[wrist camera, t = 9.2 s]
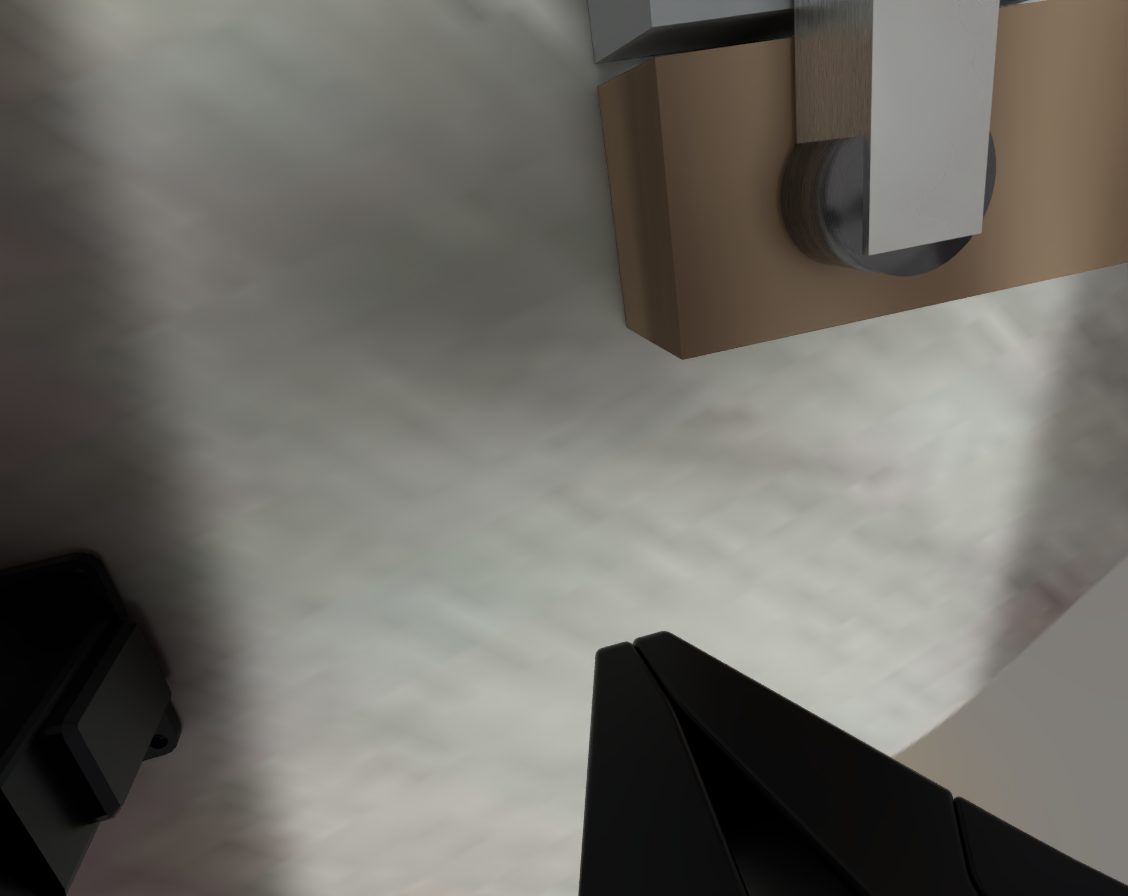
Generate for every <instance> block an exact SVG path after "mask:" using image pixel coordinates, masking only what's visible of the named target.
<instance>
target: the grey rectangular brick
mask: <svg viewBox="0 0 1128 896" xmlns="http://www.w3.org/2000/svg"><path fill="white" fill-rule="evenodd" d="M1024 1H1027V0H1000V2H999V5H1005V4H1012V3H1019V2H1024ZM588 9H589V17H590V25H591V34H592V42H593V50H594V59H595V64H596V63H602V62H609V61H616V60H623V59H630V58H637V57H644V56H651V55H658V54H665V53H672V52H679V51H686V50H693V49H700V48H707V47H714V46H721V45H727V44H734V43H741V42H748V41H755V40H762V39H769V38H776V37H783V36H790V35H795V32H794V0H588Z"/></svg>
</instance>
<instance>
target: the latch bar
mask: <svg viewBox="0 0 1128 896" xmlns="http://www.w3.org/2000/svg"><path fill="white" fill-rule="evenodd" d="M999 2H1000V0H794V32H795V84H796V135H797V144H796V145H795V147H794V149H793V151H792V153H791V155H790V157H789V159H788V162H787V164H786V167H785V170H784V174H783V178H782V184H781V197H780V202H781V212H782V217H783V221H784V224H785V227H786V230H787V232H788V234H789V236H790V238H791V239H792V241H793V242H794V244H795V245H796V246H797V247H798V249H799V250H800V251H801V252H802V253H804V254H805V255H806V256H808V257H809V258H811V259H813V260H815V261H817V262H820V263H822V264H827V265H833V266H839V267H845V268H851V269H857V270H863V271H869V272H875V273H881V274H887V275H893V276H903V277H908V276H916V275H920V274H924V273H927V272H929V271H932V270H934V269H936V268H938V267H940V266H941V265H943V264H945V263H946V262H948V261H949V260H950V259H952V258H953V257H954V256H955V255H956V254H957V253H958V252H959V251H961V250H962V249H963V247H964V246H965V245H966V244H967V243H968V242H969V241H970V239H971V238H972V236H973V235H975V234H980V233H982V220H983V218H984V216H985V214H986V211H987V209H988V206H989V203H990V201H991V198H992V193H993V189H994V184H995V177H996V153H995V147H994V142H993V138H992V135H991V132H990V117H991V105H992V92H993V79H994V66H995V53H996V40H997V28H998V15H999Z"/></svg>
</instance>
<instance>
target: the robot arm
mask: <svg viewBox="0 0 1128 896" xmlns="http://www.w3.org/2000/svg"><path fill="white" fill-rule="evenodd" d="M72 569H80V570H83V571H84V572H85V573H86V574H87V577H88V578H79V577H77V576H75V575H74V574H73V573H72ZM170 697H171V691H170V689H169V687H168V684H167V682H166V680H165V678H164V676H163V674H162V672H161V670H160V668H159V665H158V663H157V661H156V659H155V657H154V655H153V653H152V651H151V649H150V646H149V644H148V642H147V640H146V638H145V636H144V634H143V632H142V629H141V627H140V625H139V624H138V623H136V622H135V621H133V620H132V619H129V617H128V615H127V613H126V611H125V609H124V607H123V605H122V603H121V600H120V598H119V596H118V594H117V592H116V590H115V588H114V586H113V584H112V582H111V580H110V577H109V575H108V573H107V571H106V569H105V567H104V565H103V563H102V562H101V561H100V560H99V559H98V558H97V557H95V556H93V555H92V554H88V553H84V552H82V553H72V554H68V555H64V556H59V557H55V558H51V559H46V560H42V561H38V562H33V563H29V564H25V565H21V566H16V567H12V568H8V569H3V570H0V896H66V895H67V893H68V890H69V888H70V886H71V884H72V882H73V880H74V877H75V875H76V873H77V871H78V869H79V867H80V865H81V862H82V860H83V858H84V856H85V854H86V852H87V849H88V847H89V845H90V843H91V841H92V839H93V837H94V834H95V832H96V830H97V828H98V826H99V824H100V822H101V821H105V820H108V819H111V818H114V817H115V816H116V815H117V813H118V812H119V810H120V809H121V807H122V806H123V804H124V802H125V799H126V797H127V795H128V793H129V790H130V788H131V786H132V784H133V781H134V779H135V777H136V774H137V772H138V770H139V768H140V765H141V763H142V761H144V760H148V759H151V758H155V757H159V756H162V755H165V754H167V753H170V752H172V751H173V750H174V749H175V748H176V745H177V743H178V740H179V738H180V735H181V732H182V731H181V726H180V724H179V722H178V720H177V718H176V716H175V714H174V712H173V709H172V707H171V705H170V703H169V700H170ZM156 734H161V735H164V736H165V737H166V738H163V739H160V738H157V737H155V736H154V735H156ZM578 896H1128V885H1126V884H1124V883H1122V882H1120V881H1118V880H1116V879H1113V878H1112V877H1110V876H1108V875H1105V874H1103V873H1102V872H1100V871H1097V870H1095V869H1093V868H1091V867H1089V866H1087V865H1085V864H1083V863H1081V862H1079V861H1077V860H1075V859H1073V858H1071V857H1070V856H1067V855H1066V854H1064V853H1062V852H1060V851H1058V850H1057V849H1055V848H1053V847H1051V846H1049V845H1047V844H1045V843H1044V842H1042V841H1040V840H1038V839H1036V838H1034V837H1032V836H1031V835H1029V834H1027V833H1025V832H1023V831H1021V830H1020V829H1018V828H1016V827H1014V826H1012V825H1010V824H1008V823H1007V822H1005V821H1003V820H1001V819H999V818H998V817H996V816H994V815H992V814H990V813H989V812H987V811H985V810H983V809H982V808H980V807H978V806H976V805H975V804H973V803H971V802H969V801H968V800H966V799H964V798H962V797H956V798H954V800H953V796H952V793H951V792H950V791H949V790H948V789H946V788H944V787H942V786H940V785H938V784H937V783H935V782H933V781H932V780H930V779H928V778H926V777H924V776H923V775H921V774H919V773H917V772H916V771H914V770H912V769H910V768H909V767H907V766H905V765H903V764H901V763H900V762H898V761H896V760H895V759H893V758H891V757H889V756H887V755H886V754H884V753H882V752H880V751H879V750H877V749H875V748H873V747H872V746H870V745H868V744H866V743H865V742H863V741H861V740H859V739H857V738H856V737H854V736H852V735H850V734H849V733H847V732H845V731H843V730H842V729H840V728H838V727H836V726H834V725H833V724H831V723H829V722H827V721H826V720H824V719H822V718H820V717H819V716H817V715H815V714H813V713H812V712H810V711H808V710H806V709H804V708H803V707H801V706H799V705H797V704H796V703H794V702H792V701H790V700H789V699H787V698H785V697H783V696H781V695H780V694H778V693H776V692H774V691H773V690H771V689H769V688H767V687H766V686H764V685H762V684H760V683H759V682H757V681H755V680H753V679H751V678H750V677H748V676H746V675H744V674H743V673H741V672H739V671H737V670H736V669H734V668H732V667H730V666H729V665H727V664H725V663H723V662H721V661H720V660H718V659H716V658H714V657H713V656H711V655H709V654H707V653H706V652H704V651H702V650H700V649H698V648H697V647H695V646H693V645H691V644H690V643H688V642H686V641H684V640H683V639H681V638H679V637H677V636H676V635H674V634H672V633H670V632H667V631H660V632H657V633H653V634H650V635H646V636H643V637H639V638H637V639H635V640H634V642H633V644H632V643H630V642H621V643H618V644H614V645H611V646H607V647H604V648H601V649H599V650H598V651H597V652H596V656H595V670H594V684H593V698H592V712H591V726H590V740H589V755H588V769H587V783H586V797H585V811H584V825H583V839H582V853H581V867H580V881H579V895H578Z"/></svg>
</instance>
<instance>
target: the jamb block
mask: <svg viewBox="0 0 1128 896" xmlns="http://www.w3.org/2000/svg"><path fill="white" fill-rule="evenodd" d="M598 92H599V100H600V109H601V117H602V125H603V134H604V142H605V150H606V159H607V167H608V175H609V184H610V192H611V200H612V209H613V217H614V225H615V234H616V242H617V250H618V259H619V267H620V275H621V283H622V292H623V300H624V308H625V317H626V325H627V328H628V329H630V330H632V331H634V332H635V333H637V334H639V335H640V336H642V337H644V338H646V339H647V340H649V341H651V342H653V343H654V344H656V345H658V346H659V347H661V348H663V349H665V350H666V351H668V352H670V353H672V354H673V355H675V356H677V357H678V358H680V359H682V360H683V359H688V358H693V357H697V356H702V355H706V354H711V353H715V352H720V351H725V350H729V349H734V348H738V347H743V346H747V345H752V344H756V343H761V342H766V341H770V340H775V339H779V338H784V337H788V336H793V335H798V334H802V333H807V332H811V331H816V330H820V329H825V328H830V327H834V326H839V325H843V324H848V323H852V322H857V321H862V320H866V319H871V318H875V317H880V316H884V315H889V314H894V313H898V312H903V311H907V310H912V309H916V308H921V307H925V306H930V305H935V304H939V303H944V302H948V301H953V300H957V299H962V298H967V297H971V296H976V295H980V294H985V293H989V292H994V291H999V290H1003V289H1008V288H1012V287H1017V286H1021V285H1026V284H1031V283H1035V282H1040V281H1044V280H1049V279H1053V278H1058V277H1063V276H1067V275H1072V274H1076V273H1081V272H1085V271H1090V270H1094V269H1099V268H1104V267H1108V266H1113V265H1117V264H1122V263H1126V262H1128V0H1047V1H1040V2H1033V3H1026V4H1019V5H1012V6H1006V7H999V15H998V28H997V40H996V53H995V66H994V79H993V92H992V105H991V117H990V132H991V135H992V138H993V142H994V147H995V153H996V177H995V184H994V189H993V193H992V198H991V201H990V203H989V206H988V209H987V211H986V214H985V216H984V218H983V220H982V233H980V234H975V235H973V236H972V238H971V239H970V241H969V242H968V243H967V244H966V245H965V246H964V247H963V249H962V250H961V251H959V252H958V253H957V254H956V255H955V256H954V257H953V258H952V259H950V260H949V261H948V262H946V263H945V264H943V265H941V266H940V267H938V268H936V269H934V270H932V271H929V272H927V273H924V274H920V275H916V276H908V277H903V276H893V275H887V274H881V273H875V272H869V271H863V270H857V269H851V268H845V267H839V266H833V265H827V264H822V263H820V262H817V261H815V260H813V259H811V258H809V257H808V256H806V255H805V254H804V253H802V252H801V251H800V250H799V249H798V247H797V246H796V245H795V244H794V242H793V241H792V239H791V238H790V236H789V234H788V232H787V230H786V227H785V224H784V221H783V217H782V212H781V202H780V197H781V184H782V178H783V174H784V170H785V167H786V164H787V162H788V159H789V157H790V155H791V153H792V151H793V149H794V147H795V145H796V144H797V135H796V84H795V37H791V38H784V39H777V40H770V41H763V42H757V43H750V44H743V45H736V46H729V47H722V48H715V49H708V50H701V51H694V52H687V53H680V54H674V55H667V56H660V57H654V58H652V59H650V60H649V61H647V62H645V63H643V64H641V65H639V66H637V67H635V68H633V69H631V70H629V71H627V72H625V73H623V74H621V75H619V76H617V77H616V78H614V79H612V80H610V81H608V82H606V83H604V84H602V85H600V86H598Z"/></svg>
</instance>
